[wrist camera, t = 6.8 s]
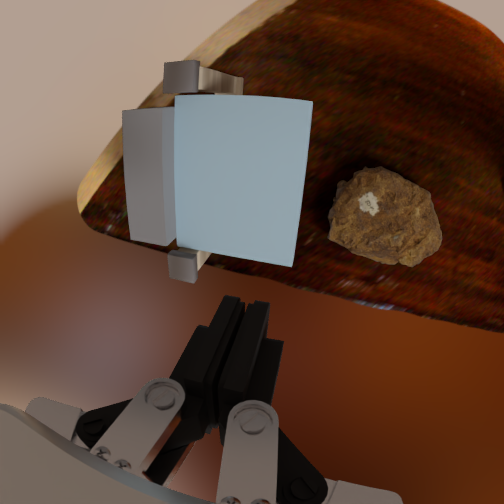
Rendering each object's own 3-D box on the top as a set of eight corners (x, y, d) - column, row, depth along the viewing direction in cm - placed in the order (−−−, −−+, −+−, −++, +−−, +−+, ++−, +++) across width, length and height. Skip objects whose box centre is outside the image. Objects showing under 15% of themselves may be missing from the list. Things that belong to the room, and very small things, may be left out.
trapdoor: (313, 102, 21) (311, 100, 17) (295, 251, 28) (288, 279, 24) (153, 97, 24) (122, 99, 20) (157, 228, 31) (132, 248, 27)
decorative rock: (452, 195, 29) (345, 152, 31) (465, 204, 26) (347, 155, 28) (419, 273, 35) (318, 238, 37) (427, 288, 31) (316, 251, 33)
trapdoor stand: (243, 75, 29) (196, 59, 18) (235, 229, 38) (195, 283, 27) (219, 75, 29) (162, 63, 18) (213, 225, 39) (167, 277, 28)
